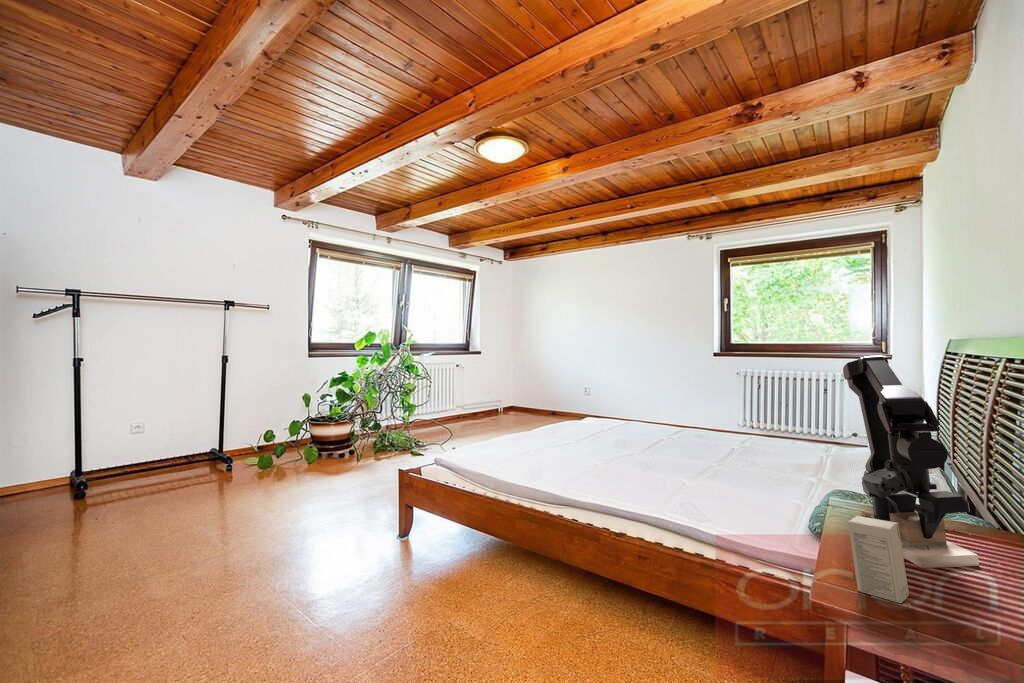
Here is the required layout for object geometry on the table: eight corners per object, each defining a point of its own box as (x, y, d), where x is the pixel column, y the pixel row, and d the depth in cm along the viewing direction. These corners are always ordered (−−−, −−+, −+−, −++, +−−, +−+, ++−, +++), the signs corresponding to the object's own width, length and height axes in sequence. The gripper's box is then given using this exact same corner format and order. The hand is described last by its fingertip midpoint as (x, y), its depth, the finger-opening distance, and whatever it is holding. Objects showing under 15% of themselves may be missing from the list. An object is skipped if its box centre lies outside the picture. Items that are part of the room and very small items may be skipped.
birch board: (883, 546, 95) (881, 536, 95) (933, 543, 94) (931, 534, 94) (922, 568, 85) (921, 557, 85) (979, 565, 84) (977, 554, 84)
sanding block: (892, 537, 94) (889, 513, 94) (927, 535, 94) (924, 511, 94) (909, 546, 90) (906, 520, 90) (946, 544, 89) (943, 519, 89)
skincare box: (909, 595, 76) (901, 522, 77) (901, 605, 74) (892, 529, 74) (864, 582, 82) (856, 514, 82) (854, 590, 79) (847, 520, 80)
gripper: (838, 450, 102) (845, 519, 102) (903, 470, 84) (913, 555, 83) (889, 447, 101) (897, 516, 101) (966, 466, 83) (977, 552, 82)
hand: (917, 533), depth 92 cm, fingers closed on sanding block, 4 cm apart
